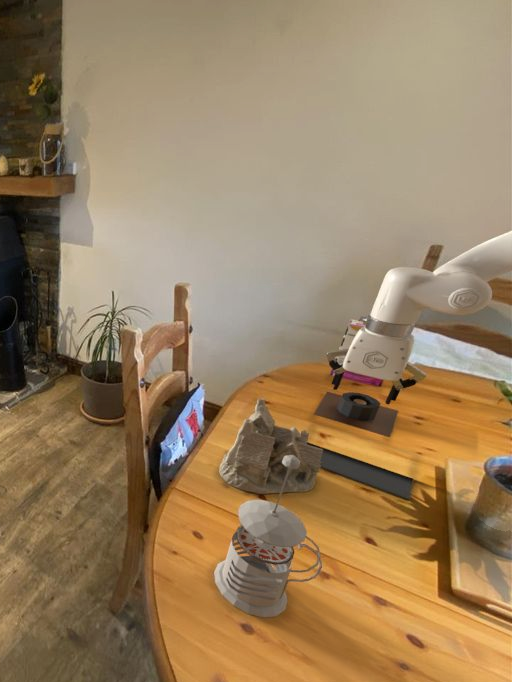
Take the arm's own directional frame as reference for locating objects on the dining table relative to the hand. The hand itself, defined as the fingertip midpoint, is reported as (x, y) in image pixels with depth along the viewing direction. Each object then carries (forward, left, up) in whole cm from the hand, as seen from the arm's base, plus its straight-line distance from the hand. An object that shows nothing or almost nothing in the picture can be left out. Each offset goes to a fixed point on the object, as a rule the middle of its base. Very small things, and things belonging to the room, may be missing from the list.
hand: (361, 394), depth 97 cm
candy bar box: (+3, -20, -6) cm, 21 cm away
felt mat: (-3, +17, -6) cm, 18 cm away
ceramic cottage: (+9, +35, -6) cm, 37 cm away
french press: (+2, +63, -6) cm, 63 cm away
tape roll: (0, 0, -5) cm, 5 cm away
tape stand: (0, 0, -6) cm, 6 cm away
